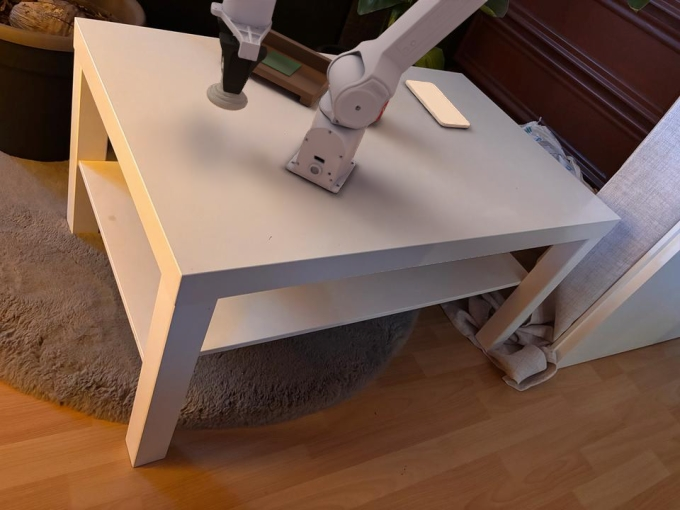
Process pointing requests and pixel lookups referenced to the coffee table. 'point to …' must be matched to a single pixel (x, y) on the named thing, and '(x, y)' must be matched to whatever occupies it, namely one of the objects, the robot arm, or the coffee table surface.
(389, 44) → the robot arm
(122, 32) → the coffee table surface
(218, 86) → the chess piece
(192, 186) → the coffee table surface
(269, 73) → the shelf
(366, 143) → the coffee table surface
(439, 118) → the smartphone
